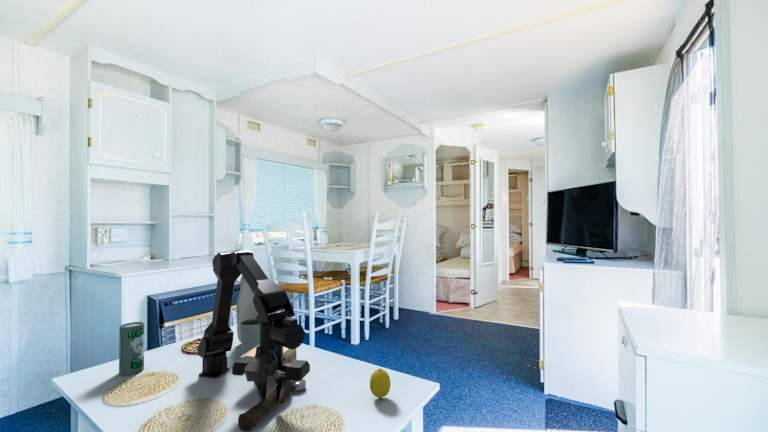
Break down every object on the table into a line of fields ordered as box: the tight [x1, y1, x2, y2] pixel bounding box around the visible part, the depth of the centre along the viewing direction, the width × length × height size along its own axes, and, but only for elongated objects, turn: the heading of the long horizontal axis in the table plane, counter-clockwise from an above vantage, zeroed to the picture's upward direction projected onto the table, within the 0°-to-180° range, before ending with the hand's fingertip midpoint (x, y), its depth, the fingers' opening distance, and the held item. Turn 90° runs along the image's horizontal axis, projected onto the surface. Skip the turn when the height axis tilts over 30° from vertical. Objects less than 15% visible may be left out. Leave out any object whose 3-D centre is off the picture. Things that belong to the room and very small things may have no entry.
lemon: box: [369, 368, 391, 400], centre depth 91 cm, size 6×6×8 cm
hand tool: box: [237, 380, 293, 432], centre depth 86 cm, size 19×4×5 cm, turn 160°
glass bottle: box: [236, 275, 259, 343], centre depth 134 cm, size 10×10×28 cm
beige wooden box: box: [239, 345, 297, 379], centre depth 101 cm, size 11×13×10 cm
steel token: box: [291, 378, 307, 394], centre depth 97 cm, size 4×4×2 cm
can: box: [118, 321, 145, 377], centre depth 109 cm, size 6×6×15 cm
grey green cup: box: [240, 318, 260, 356], centre depth 122 cm, size 10×10×12 cm
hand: (271, 401), depth 86 cm, fingers open, 4 cm apart
